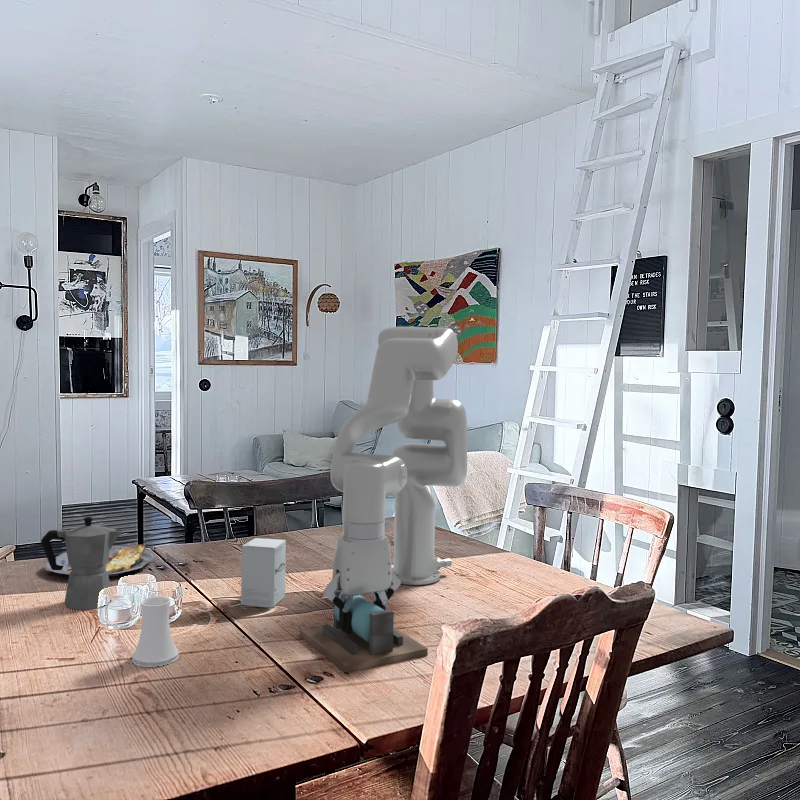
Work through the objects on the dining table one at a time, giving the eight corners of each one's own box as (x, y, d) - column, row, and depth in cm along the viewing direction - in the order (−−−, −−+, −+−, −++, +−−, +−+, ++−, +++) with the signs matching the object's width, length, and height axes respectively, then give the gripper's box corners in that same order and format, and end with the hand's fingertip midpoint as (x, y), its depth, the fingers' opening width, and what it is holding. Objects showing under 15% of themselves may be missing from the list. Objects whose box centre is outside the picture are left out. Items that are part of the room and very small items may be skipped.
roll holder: (375, 621, 152) (376, 580, 151) (427, 655, 136) (428, 609, 135) (299, 635, 144) (300, 592, 143) (345, 673, 127) (346, 624, 127)
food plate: (77, 551, 199) (77, 537, 199) (167, 554, 198) (167, 541, 198) (28, 583, 174) (28, 567, 174) (130, 587, 173) (130, 571, 173)
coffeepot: (122, 593, 166) (122, 510, 165) (123, 607, 157) (122, 519, 156) (43, 600, 161) (42, 514, 160) (39, 614, 152) (38, 524, 151)
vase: (152, 671, 127) (152, 611, 126) (122, 660, 131) (122, 602, 130) (187, 656, 133) (188, 599, 132) (158, 646, 137) (158, 591, 136)
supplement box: (273, 608, 158) (274, 547, 158) (240, 605, 160) (240, 545, 159) (286, 597, 166) (286, 539, 165) (253, 594, 167) (254, 536, 166)
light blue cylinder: (333, 625, 143) (334, 593, 142) (362, 621, 146) (363, 590, 145) (361, 646, 133) (362, 611, 133) (391, 640, 136) (392, 607, 136)
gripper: (394, 520, 146) (393, 614, 147) (310, 530, 137) (309, 629, 138) (415, 529, 139) (413, 627, 141) (329, 539, 131) (327, 644, 132)
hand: (362, 627), depth 139 cm, fingers closed on light blue cylinder, 5 cm apart
